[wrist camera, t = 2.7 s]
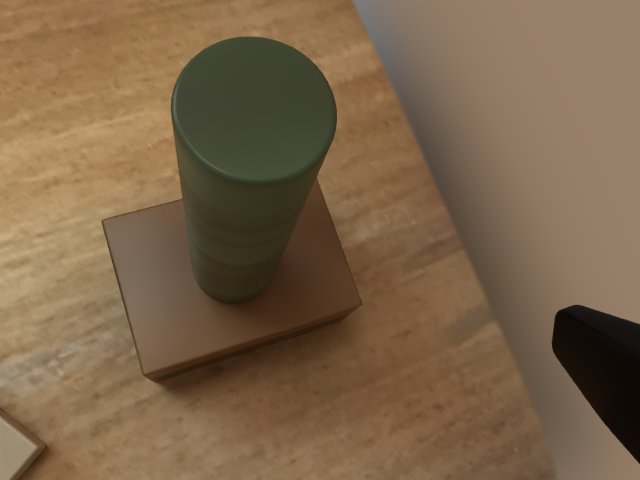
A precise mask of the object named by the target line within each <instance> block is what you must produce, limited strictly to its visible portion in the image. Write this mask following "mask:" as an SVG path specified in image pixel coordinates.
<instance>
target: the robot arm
mask: <svg viewBox="0 0 640 480" xmlns="http://www.w3.org/2000/svg"><path fill="white" fill-rule="evenodd" d="M552 349H553V352H554V354H555V356H556V357H557V359H558V360H559V361H560V363H561V365H562V366H563V367H564V369H565V370H566V371H567V373H568V374H569V376H570V377H571V378H572V380H573V381H574V382H575V384H576V385H577V387H578V388H579V390H580V391H581V392H582V394H583V395H584V397H585V398H586V399H587V401H588V402H589V403H590V405H591V406H592V408H593V409H594V410H595V412H596V413H597V414H598V416H599V417H600V418H601V420H602V421H603V422H604V423H605V425H606V426H607V427H608V428H609V429H610V431H611V432H612V433H613V434H614V435H615V436H616V438H617V439H618V440H619V441H620V442H621V443H622V444H623V446H624V447H625V448H626V449H627V450H628V451H629V452H630V453H631V455H632V456H633V457H634V458H635V459H636V460H637V461H638V463H639V464H640V324H638V323H634V322H631V321H628V320H625V319H622V318H618V317H616V316H613V315H610V314H606V313H603V312H600V311H597V310H594V309H591V308H588V307H584V306H581V305H573V306H570V307H567V308H565V309H562V310H559V311H558V312H557V314H556V315H555V321H554V329H553V337H552Z"/></svg>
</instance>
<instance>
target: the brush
mask: <svg viewBox="0 0 640 480" xmlns="http://www.w3.org/2000/svg"><path fill="white" fill-rule="evenodd" d="M171 116H172V124H173V131H174V139H175V146H176V153H177V161H178V168H179V176H180V183H181V190H182V198H183V199H180V200H176V201H172V202H169V203H165V204H161V205H157V206H153V207H149V208H145V209H141V210H138V211H134V212H130V213H126V214H122V215H118V216H114V217H110V218H107V219H103V220H102V226H103V230H104V233H105V237H106V241H107V244H108V248H109V252H110V255H111V259H112V263H113V267H114V270H115V274H116V278H117V281H118V285H119V289H120V292H121V296H122V300H123V303H124V307H125V311H126V315H127V318H128V322H129V326H130V329H131V333H132V337H133V340H134V344H135V348H136V351H137V355H138V359H139V363H140V366H141V370H142V374H143V375H144V376H145V377H147V378H148V379H150V380H152V381H153V382H158V381H161V380H164V379H167V378H170V377H173V376H176V375H179V374H182V373H185V372H188V371H191V370H194V369H197V368H200V367H203V366H206V365H209V364H212V363H215V362H218V361H221V360H224V359H227V358H230V357H233V356H236V355H239V354H242V353H245V352H248V351H251V350H254V349H258V348H261V347H264V346H267V345H270V344H273V343H276V342H279V341H282V340H285V339H288V338H291V337H294V336H297V335H300V334H303V333H306V332H309V331H312V330H315V329H318V328H321V327H324V326H327V325H330V324H333V323H336V322H339V321H341V320H342V319H344V318H345V317H346V316H348V315H349V314H350V313H352V312H353V311H354V310H356V309H357V308H358V307H360V306H361V305H362V302H361V299H360V296H359V294H358V291H357V288H356V285H355V283H354V280H353V277H352V274H351V271H350V269H349V266H348V263H347V260H346V258H345V255H344V252H343V249H342V247H341V244H340V241H339V238H338V235H337V233H336V230H335V227H334V224H333V222H332V219H331V216H330V213H329V211H328V208H327V205H326V202H325V199H324V197H323V194H322V191H321V188H320V186H319V183H318V180H317V175H318V173H319V170H320V168H321V166H322V164H323V161H324V159H325V157H326V154H327V152H328V150H329V147H330V145H331V143H332V141H333V138H334V134H335V131H336V124H337V109H336V103H335V99H334V96H333V92H332V90H331V88H330V86H329V84H328V81H327V80H326V78H325V77H324V75H323V73H322V72H321V71H320V70H319V68H318V67H317V66H316V65H315V64H314V63H313V62H312V61H311V60H310V59H309V58H308V57H306V56H305V55H304V54H302V53H301V52H299V51H298V50H296V49H294V48H293V47H291V46H288V45H286V44H284V43H281V42H278V41H275V40H272V39H267V38H262V37H237V38H231V39H227V40H223V41H220V42H218V43H215V44H213V45H211V46H209V47H207V48H206V49H204V50H203V51H201V52H200V53H198V54H197V55H196V56H195V57H194V58H193V59H192V60H191V61H190V62H189V63H188V64H187V65H186V67H185V68H184V69H183V70H182V72H181V74H180V75H179V77H178V79H177V81H176V84H175V86H174V89H173V94H172V99H171Z"/></svg>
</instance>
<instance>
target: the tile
mask: <svg viewBox="0 0 640 480" xmlns="http://www.w3.org/2000/svg"><path fill="white" fill-rule="evenodd" d="M44 448H45V444H44V443H43V442H41V441H40V440H39V439H38V438H36V437H35V436H34V435H33V434H31V433H30V432H29V431H28V430H26V429H25V428H24V427H23V426H21V425H20V424H19V423H17V422H16V421H15V420H14V419H12V418H11V417H10V416H9V415H7V414H6V413H5V412H4V411H2V410H1V409H0V480H18V479H19V478H20V476H21V475H22V474H23V473H24V472H25V470H26V469H27V468H28V467H29V466H30V465H31V463H32V462H33V461H34V460H35V459H36V458H37V456H38V455H39V454H40V453H41V452H42V451H43V449H44Z"/></svg>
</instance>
